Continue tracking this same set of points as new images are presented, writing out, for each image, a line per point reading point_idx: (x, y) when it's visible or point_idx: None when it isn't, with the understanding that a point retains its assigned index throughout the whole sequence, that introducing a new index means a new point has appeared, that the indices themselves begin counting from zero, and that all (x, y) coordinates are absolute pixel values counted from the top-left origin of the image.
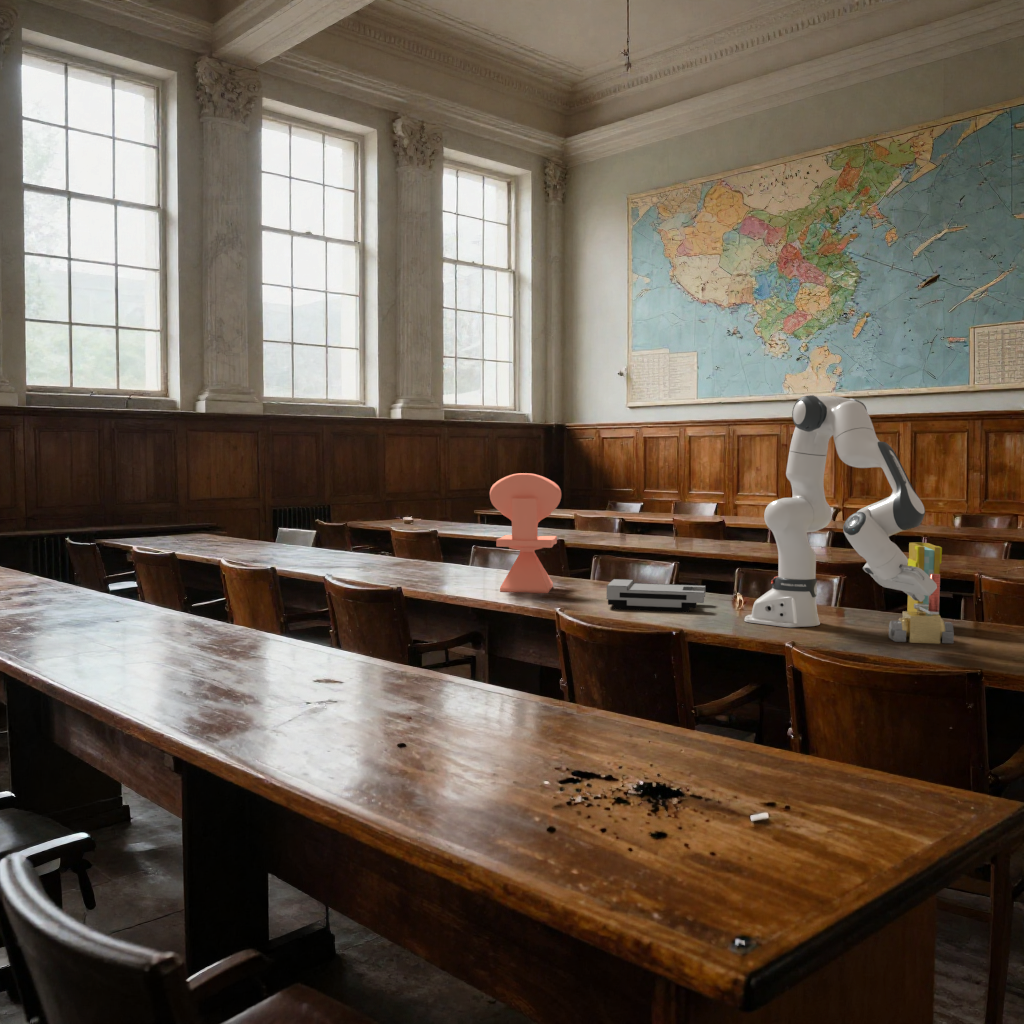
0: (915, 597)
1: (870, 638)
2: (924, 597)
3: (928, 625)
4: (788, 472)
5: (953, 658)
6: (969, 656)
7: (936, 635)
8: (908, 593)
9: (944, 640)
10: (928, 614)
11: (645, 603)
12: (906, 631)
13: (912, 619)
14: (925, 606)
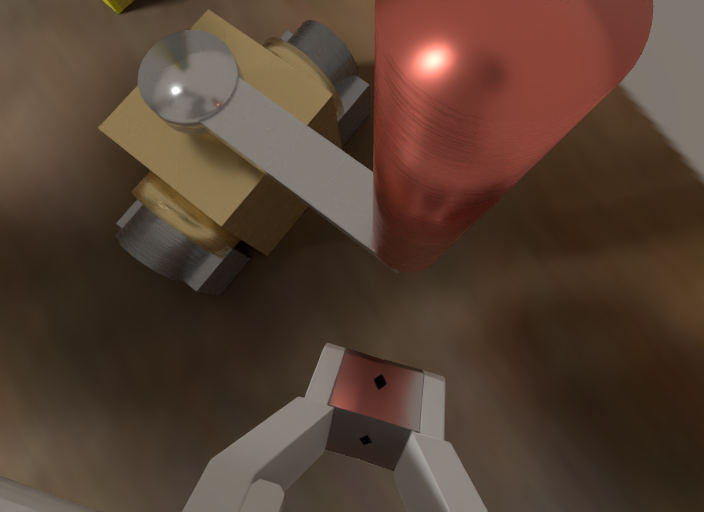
0: (382, 463)
1: (115, 324)
2: (442, 381)
3: None
4: None
5: (594, 401)
6: (589, 296)
7: None
8: (285, 487)
9: (347, 134)
10: None
11: None
12: (232, 245)
13: (237, 223)
14: (240, 105)
